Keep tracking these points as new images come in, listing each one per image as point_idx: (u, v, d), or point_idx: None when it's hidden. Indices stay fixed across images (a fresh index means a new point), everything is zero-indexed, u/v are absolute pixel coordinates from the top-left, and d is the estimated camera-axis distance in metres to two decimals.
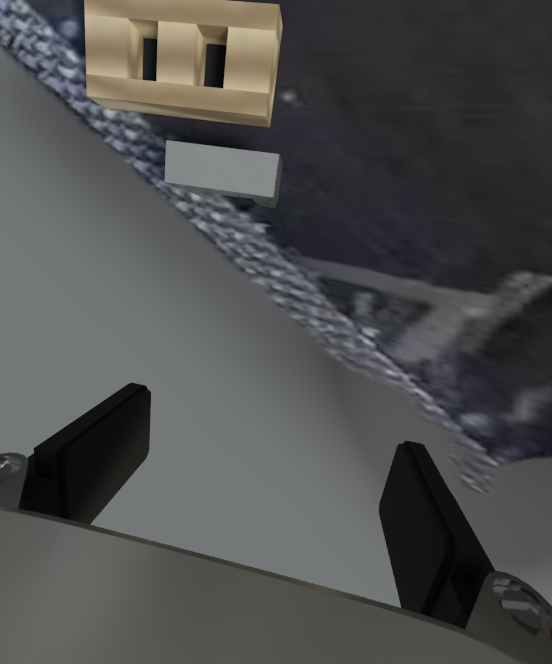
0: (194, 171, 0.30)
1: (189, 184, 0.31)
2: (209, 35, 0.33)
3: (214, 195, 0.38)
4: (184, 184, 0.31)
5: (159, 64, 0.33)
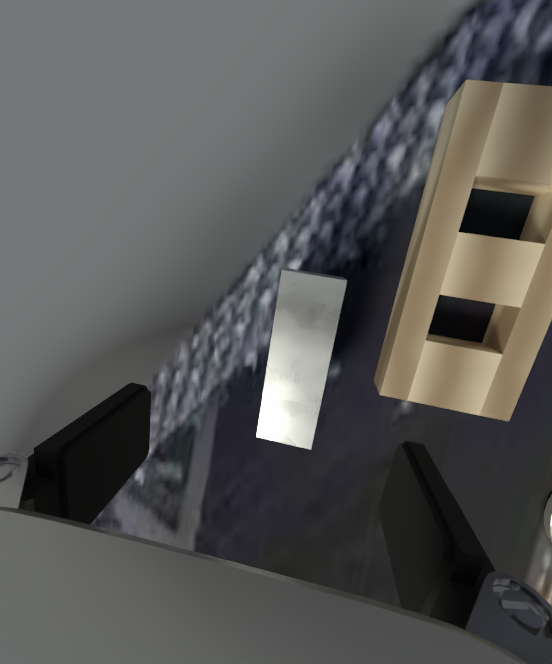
0: (296, 324, 0.18)
1: (276, 314, 0.18)
2: (503, 315, 0.22)
3: None
4: (277, 305, 0.18)
5: (481, 240, 0.20)
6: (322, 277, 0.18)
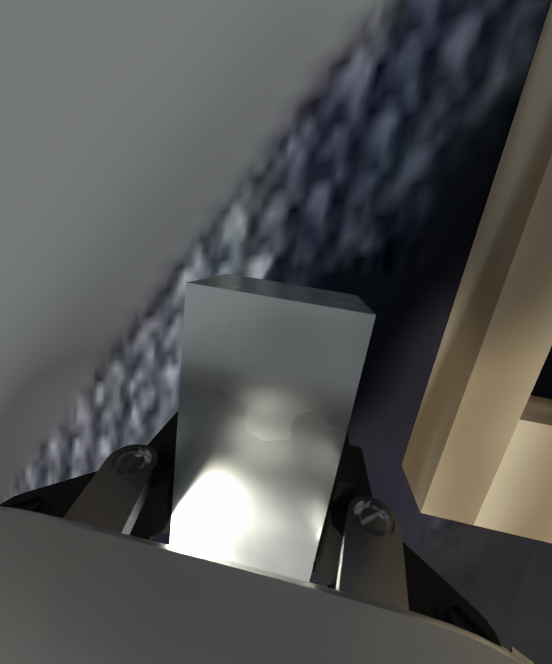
0: (235, 427, 0.07)
1: (183, 400, 0.07)
2: None
3: None
4: None
5: None
6: (302, 304, 0.06)
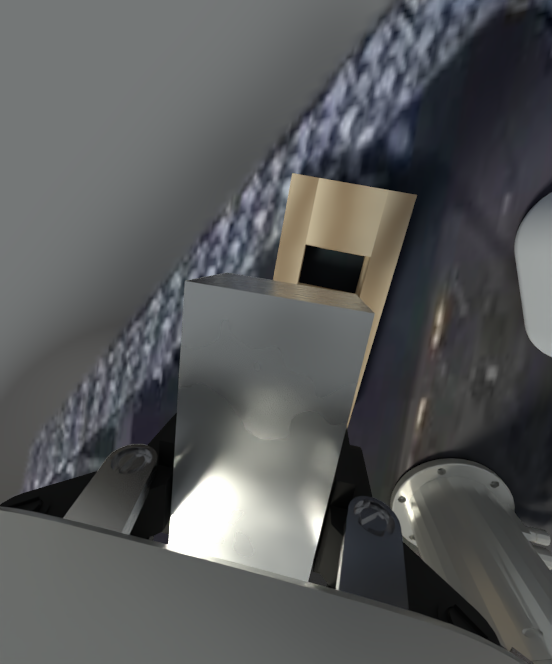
0: (233, 426, 0.07)
1: (182, 399, 0.07)
2: None
3: None
4: None
5: None
6: (301, 303, 0.06)
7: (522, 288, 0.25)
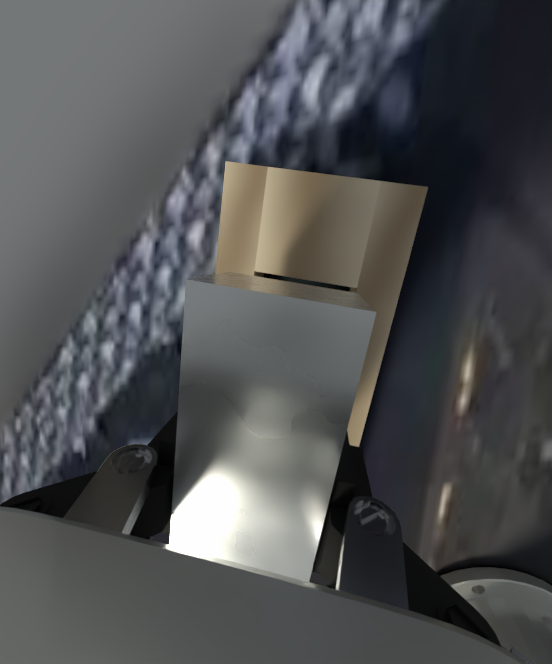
0: (234, 425, 0.07)
1: (183, 398, 0.07)
2: None
3: None
4: (184, 372, 0.07)
5: None
6: (303, 301, 0.06)
7: None
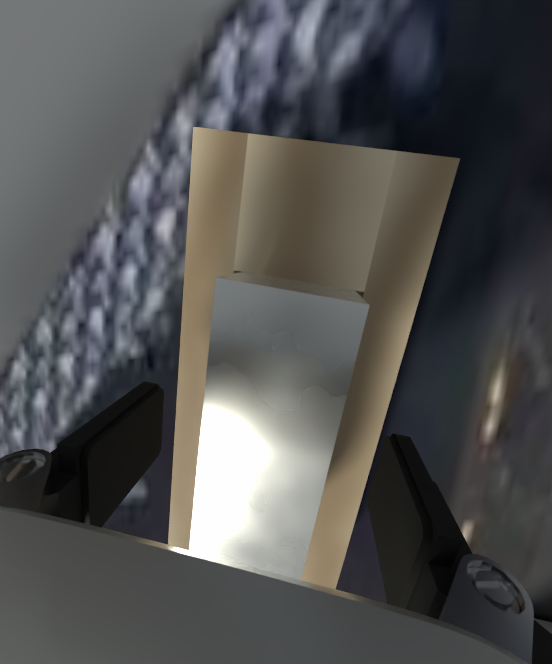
0: (252, 398, 0.08)
1: (209, 375, 0.08)
2: None
3: None
4: (211, 355, 0.08)
5: None
6: (310, 296, 0.07)
7: None
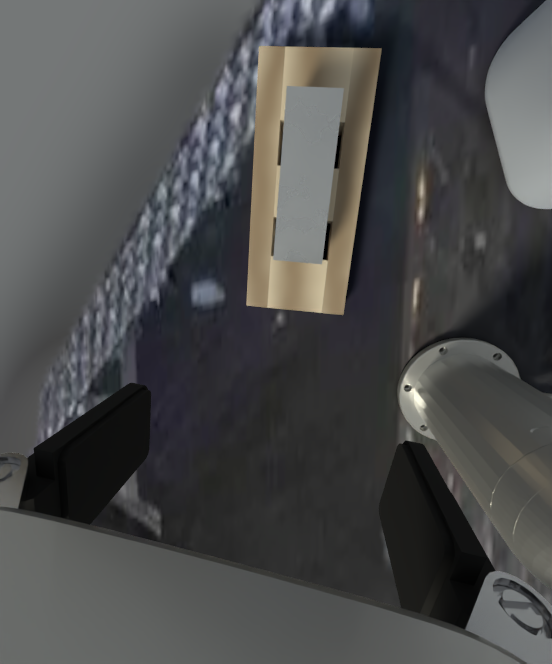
0: (302, 139, 0.21)
1: (284, 131, 0.21)
2: (330, 231, 0.29)
3: None
4: (284, 122, 0.21)
5: None
6: (322, 88, 0.20)
7: (497, 138, 0.25)
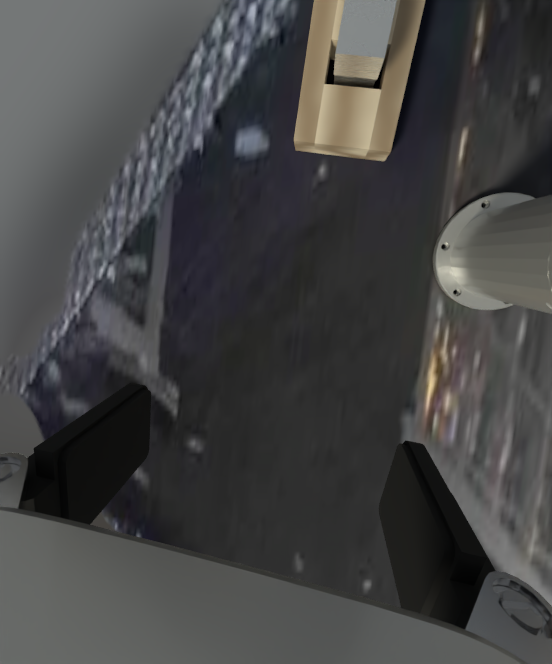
0: None
1: None
2: (385, 65, 0.29)
3: None
4: None
5: None
6: None
7: None
